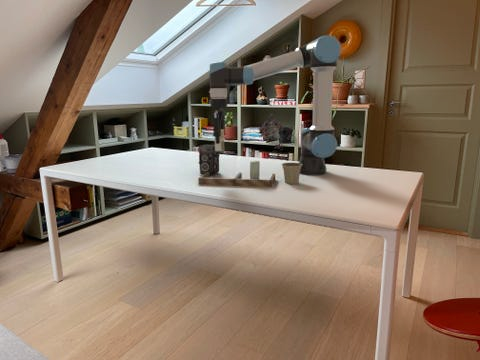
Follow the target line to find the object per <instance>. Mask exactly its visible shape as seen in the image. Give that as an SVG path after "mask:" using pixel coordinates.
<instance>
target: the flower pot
mask: <svg viewBox="0 0 480 360" xmlns="http://www.w3.org/2000/svg"><path fill="white" fill-rule="evenodd" d="M281 166H282V169H283V175H284V176H283V177H284V183H286V184H290V185H295V184H298V183H299V182H300V175H301V173H300V169H301V166H302V164H301V163H299V162H284V163H282V164H281Z"/></svg>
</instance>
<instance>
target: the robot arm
mask: <svg viewBox="0 0 480 360" xmlns="http://www.w3.org/2000/svg"><path fill="white" fill-rule="evenodd" d="M341 53H342V46H341V43H340V41H339V40H338V39H337V38H336V37H335V36H333V35H329V34H328V35H327V34H326V35H322V36H319V37H318V38H316V39H314V40H312V41H310V42H309V43H306V44H304V45H302V46H299V47H297V48H295V50H294V51H290V52H287V53H284V54H281V55H278V56H275V57H271V58H267V59H265V60H261V61H258V62H255V63H251V64H248V65H245V66H227V62H224V61H222V62H221V61H216V62H215V61H213V62H210V64H209V91H208V93H209V96H210V100H209V101H210V103H209V104H210V108H214V111H213V113H212V124H213V125H212V126H213V129H212V130H213V135H212V136H213V137H214V145H215V151H222V150H221V129H224V136H226V111H224V108H227V107H228V99H227V98H228V86H229V85H234V86H242V85H244V86H245V85H246V86H248V85H252V84H254V81H256V80H260V79H263V78H266V77H271V76H274V75H276V74H279V73H282V72H285V71H289V70H293V69H296V68H301V69H304V68H307V67H310V70H311V71H312V72H313V87H312V88H313V89H312V91H313V93H312V94H313V95H312V97H313V98H312V125H311V126H310V127H304V128H302V129H301V134H300V136H301V137H300V138H301V139H300V158H299V161H298V163H301V164H302V166H301V169H300V175H310V176H313V175H314V176H316V175H317V176H318V175H319V176H321V175H325V174H327V165H326V162H325V159H327V158H329V157H331V156H332V155H333V154H335V152H336V150H337V148H338V141H337V140H338V139H336V137H335V127H334V126H333V125H332V114H333V113H332V112H333V89H334V87H333V85H334V84H333V82H334V81H333V80H334V72H335V70H336V69H337V66H338V59H339V57H340V56H341ZM227 85H228V86H227Z"/></svg>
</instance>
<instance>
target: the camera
mask: <svg viewBox="0 0 480 360" xmlns="http://www.w3.org/2000/svg"><path fill="white" fill-rule="evenodd" d="M197 150H198V160H199V161H198V164H199V174H200V175H201V176H202V175H203V174H204V173H206V172H209V176H210V175H212V176H215V175H216V174H218V173H219V172H220V155H221V154H220V152H216V151H215V144H202V145H199V146H198V148H197Z"/></svg>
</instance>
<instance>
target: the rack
mask: <svg viewBox="0 0 480 360" xmlns="http://www.w3.org/2000/svg"><path fill="white" fill-rule="evenodd" d="M197 181H198V185H209V186H230V187H231V186H233V187H236V186H237V187H256V188H257V187H258V188H273V186H274V184H275V181H276V173H272V175H271V177H269V179H259V180H258V179H250V178H243V173H242V172H238V174H236V175H235V177H234V178H229V177H228V178H225V177H223V178H222V177H210V175H209V172H206V173H204V174H203V175H202V174H201V175H200V176H199V177H198V179H197Z"/></svg>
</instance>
